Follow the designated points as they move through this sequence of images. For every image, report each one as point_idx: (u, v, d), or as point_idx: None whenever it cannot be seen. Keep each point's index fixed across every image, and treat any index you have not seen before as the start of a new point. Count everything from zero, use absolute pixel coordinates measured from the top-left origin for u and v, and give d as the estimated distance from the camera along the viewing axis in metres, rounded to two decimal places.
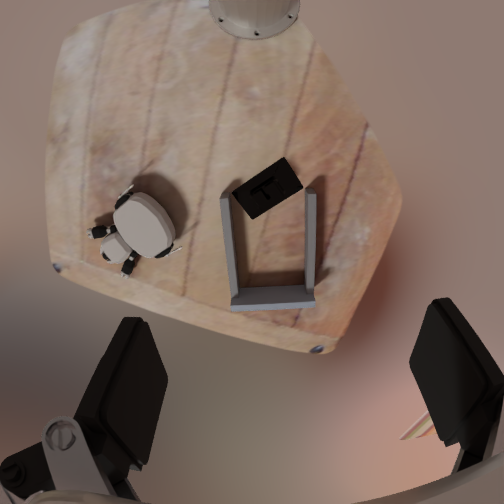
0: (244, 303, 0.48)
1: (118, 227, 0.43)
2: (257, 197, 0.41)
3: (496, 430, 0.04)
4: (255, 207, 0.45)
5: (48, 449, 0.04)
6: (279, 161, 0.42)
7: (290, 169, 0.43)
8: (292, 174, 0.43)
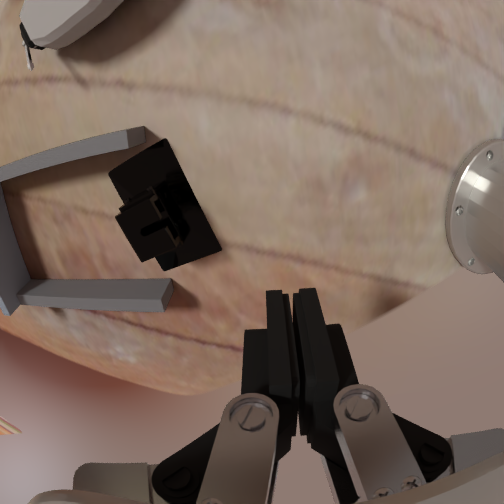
0: None
1: None
2: (146, 211, 0.18)
3: (349, 456, 0.05)
4: (130, 184, 0.21)
5: (240, 433, 0.05)
6: (216, 242, 0.23)
7: (198, 257, 0.23)
8: (189, 259, 0.24)
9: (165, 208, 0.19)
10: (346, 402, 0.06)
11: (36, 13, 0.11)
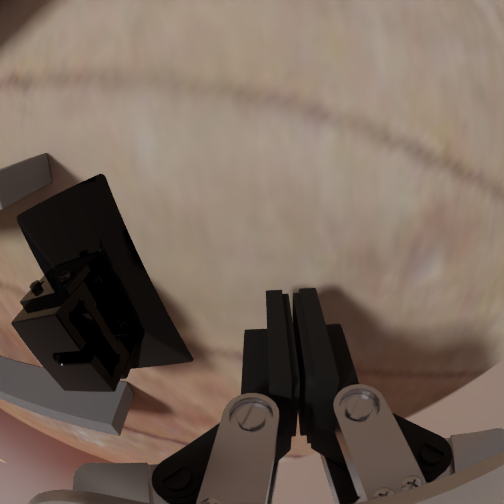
0: None
1: None
2: (55, 331, 0.08)
3: (350, 456, 0.05)
4: (48, 245, 0.10)
5: (241, 433, 0.05)
6: (187, 352, 0.13)
7: (159, 365, 0.14)
8: (144, 364, 0.14)
9: (94, 317, 0.09)
10: (346, 402, 0.06)
11: None
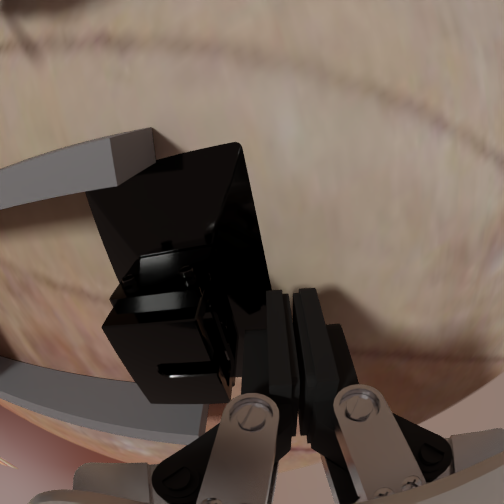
0: None
1: None
2: (181, 340, 0.07)
3: (349, 456, 0.05)
4: (136, 232, 0.10)
5: (240, 433, 0.05)
6: None
7: (235, 368, 0.13)
8: None
9: (215, 320, 0.09)
10: (346, 402, 0.06)
11: None
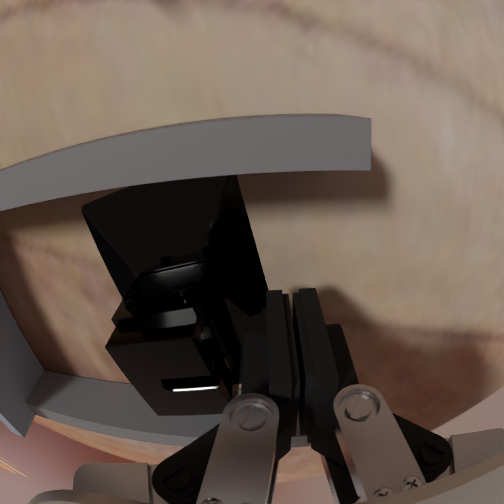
0: None
1: None
2: (181, 357, 0.08)
3: (349, 456, 0.05)
4: (134, 250, 0.10)
5: (240, 433, 0.05)
6: None
7: (241, 376, 0.14)
8: None
9: (215, 334, 0.09)
10: (346, 402, 0.06)
11: None
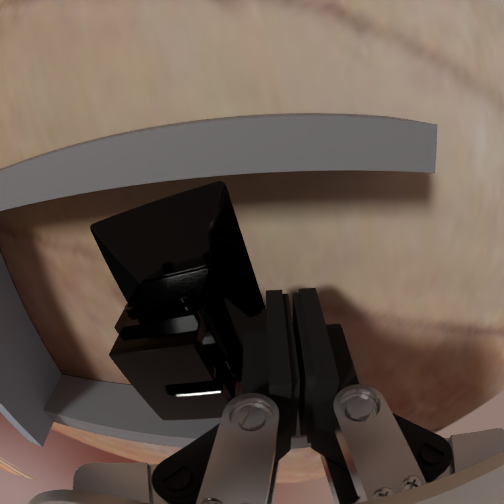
0: None
1: None
2: (183, 363, 0.08)
3: (350, 456, 0.05)
4: (135, 258, 0.10)
5: (240, 433, 0.05)
6: None
7: None
8: None
9: (217, 340, 0.09)
10: (346, 402, 0.06)
11: None
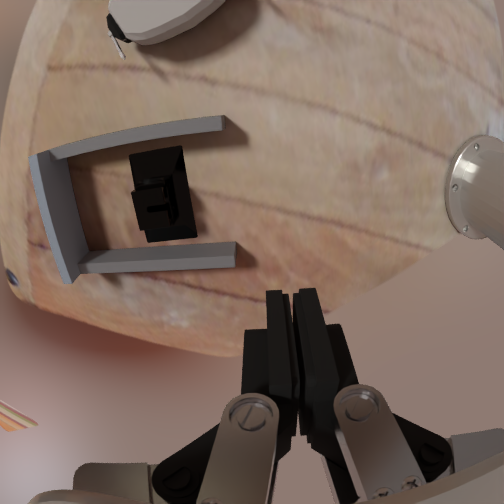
0: (43, 175, 0.22)
1: None
2: (156, 195, 0.24)
3: (350, 456, 0.05)
4: (144, 169, 0.27)
5: (240, 433, 0.05)
6: (194, 230, 0.30)
7: (178, 238, 0.30)
8: (170, 237, 0.30)
9: (168, 196, 0.25)
10: (346, 402, 0.06)
11: (129, 10, 0.16)
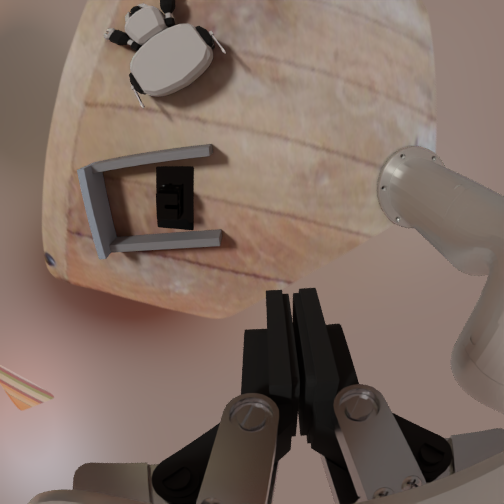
0: (88, 182, 0.36)
1: (172, 29, 0.27)
2: (172, 198, 0.37)
3: (350, 456, 0.05)
4: (165, 177, 0.40)
5: (241, 433, 0.05)
6: (192, 224, 0.43)
7: (179, 227, 0.44)
8: (174, 226, 0.43)
9: (179, 200, 0.39)
10: (346, 402, 0.06)
11: (145, 73, 0.30)
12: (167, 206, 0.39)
